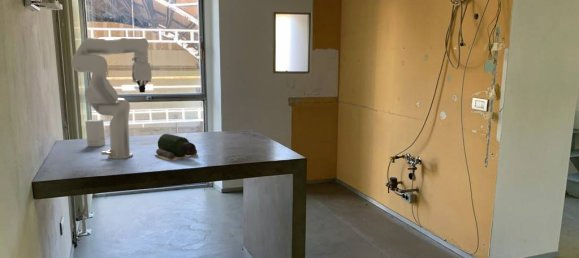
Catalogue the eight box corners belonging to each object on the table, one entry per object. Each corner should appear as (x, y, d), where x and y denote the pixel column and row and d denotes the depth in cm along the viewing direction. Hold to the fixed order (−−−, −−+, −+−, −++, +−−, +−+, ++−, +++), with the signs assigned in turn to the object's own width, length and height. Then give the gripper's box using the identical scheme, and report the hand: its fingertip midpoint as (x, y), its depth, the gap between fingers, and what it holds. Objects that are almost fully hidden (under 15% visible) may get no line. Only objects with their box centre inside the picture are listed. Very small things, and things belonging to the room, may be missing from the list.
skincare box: (105, 144, 265) (104, 119, 262) (99, 147, 258) (98, 121, 256) (92, 144, 266) (91, 119, 263) (86, 146, 259) (84, 120, 257)
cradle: (168, 160, 227) (168, 153, 227) (155, 156, 237) (155, 149, 236) (198, 155, 240) (197, 148, 240) (184, 151, 250) (183, 145, 249)
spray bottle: (165, 155, 245) (192, 163, 228) (153, 144, 238) (179, 151, 222) (176, 141, 249) (203, 147, 233) (165, 129, 243) (191, 135, 226)
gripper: (131, 60, 242) (133, 93, 245) (156, 60, 252) (157, 92, 255) (125, 60, 247) (126, 92, 250) (149, 60, 257) (150, 91, 260)
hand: (142, 92), depth 252 cm, fingers closed
